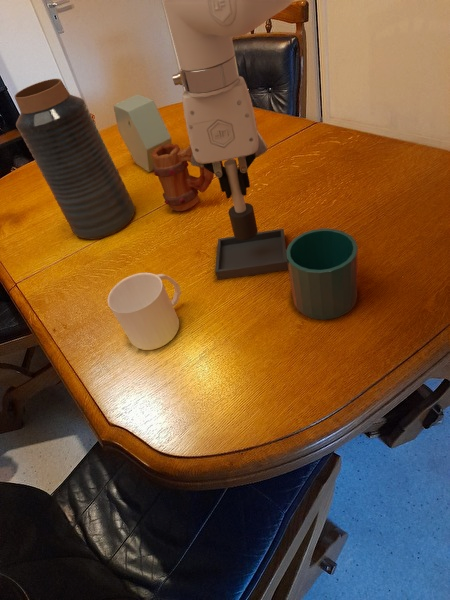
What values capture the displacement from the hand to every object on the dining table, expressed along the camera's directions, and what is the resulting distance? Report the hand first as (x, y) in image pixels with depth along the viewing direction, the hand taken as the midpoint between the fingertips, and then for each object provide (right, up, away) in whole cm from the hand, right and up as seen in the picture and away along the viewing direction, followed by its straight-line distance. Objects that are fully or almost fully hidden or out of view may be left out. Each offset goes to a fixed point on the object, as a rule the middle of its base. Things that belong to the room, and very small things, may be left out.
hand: (236, 192), depth 68 cm
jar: (+14, -18, -2) cm, 23 cm away
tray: (+3, -10, +10) cm, 14 cm away
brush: (+2, -6, +6) cm, 9 cm away
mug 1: (-13, -23, +2) cm, 26 cm away
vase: (-32, +1, +33) cm, 46 cm away
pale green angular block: (-23, +22, +51) cm, 60 cm away
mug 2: (-9, +4, +29) cm, 30 cm away
